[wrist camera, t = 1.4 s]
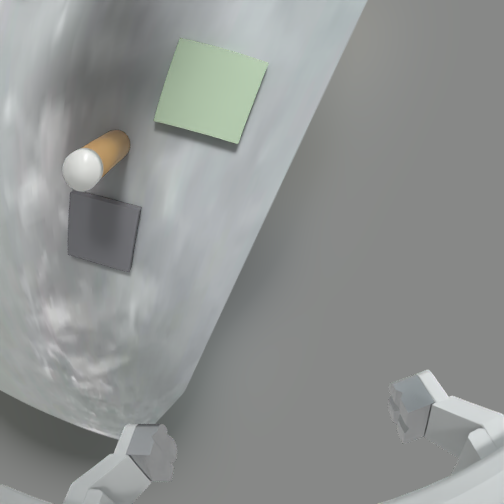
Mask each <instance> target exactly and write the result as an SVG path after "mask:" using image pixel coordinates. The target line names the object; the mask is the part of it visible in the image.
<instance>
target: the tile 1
mask: <svg viewBox="0 0 504 504" xmlns="http://www.w3.org/2000/svg"><path fill="white" fill-rule="evenodd" d="M140 212H141V207H139V206H135V205H132V204H128V203H124V202H120V201H117V200H113V199H109V198H105V197H101V196H98V195H94V194H90V193H86V192H80V191H76V190H73V191H72V192H71V193H70V206H69V224H68V255H71V256H74V257H78V258H81V259H84V260H88V261H91V262H95V263H98V264H101V265H105V266H108V267H112V268H115V269H119V270H122V271H126V272H129V271H130V269H131V265H132V258H133V252H134V246H135V240H136V234H137V228H138V223H139V217H140Z"/></svg>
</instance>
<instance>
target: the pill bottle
mask: <svg viewBox="0 0 504 504" xmlns="http://www.w3.org/2000/svg"><path fill="white" fill-rule="evenodd" d="M129 149H130V140H129V138H128V136H127V135H126V134H125V133H124V132H123V131H120V130H111V131H109V132H107V133H106V134H104V135H102V136H100V137H99V138H97V139H95V140H94V141H92V142H90V143H89V144H87V145H85V146H84V147H82V148H80V149H78V150H76V151H74V152H73V153H71V154H70V155H68V156H67V158H66V159H65V161H64V163H63V168H62V172H63V177H64V179H65V181H66V183H67V184H68V185H69V186H70V187H71V188H72V189H74V190H76V191H80V192H84V191H88V190H90V189H92V188H93V187H94V186H95V185H96V184H97V183H98V182H99V181H100V179H101V178H102V177H103V176H104V175H105V174H106V173H107V172H108V171H109V170H111V169H112V168H113V167H114V166H115V165H116V164H117V163H118V162H119V161H120V160H122V159H123V158H124V157H125V156H126V155H127V154H128V152H129Z"/></svg>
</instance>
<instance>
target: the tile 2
mask: <svg viewBox="0 0 504 504" xmlns="http://www.w3.org/2000/svg"><path fill="white" fill-rule="evenodd" d="M268 64H269V63H267V62H264V61H261V60H258V59H255V58H252V57H249V56H246V55H243V54H239V53H236V52H233V51H229V50H226V49H222V48H219V47H215V46H211V45H208V44H204V43H200V42H196V41H191V40H187V39H183V38H180V39H179V42H178V45H177V47H176V50H175V53H174V56H173V59H172V62H171V65H170V68H169V71H168V74H167V77H166V80H165V83H164V86H163V90H162V93H161V96H160V100H159V103H158V107H157V110H156V114H155V117H154V121H156V122H160V123H164V124H168V125H172V126H176V127H180V128H184V129H187V130H191V131H195V132H198V133H202V134H205V135H209V136H212V137H216V138H219V139H222V140H226V141H229V142H232V143H235V144H238V143H239V140H240V137H241V134H242V132H243V129H244V126H245V123H246V121H247V118H248V115H249V113H250V110H251V107H252V105H253V102H254V99H255V97H256V94H257V92H258V89H259V86H260V84H261V81H262V79H263V76H264V74H265V71H266V69H267V66H268Z"/></svg>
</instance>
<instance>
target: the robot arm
mask: <svg viewBox="0 0 504 504" xmlns="http://www.w3.org/2000/svg"><path fill="white" fill-rule="evenodd" d="M389 392H390V394H391V397H390V398H389V399H388V408H389V414H390V417H391V419H392V422H393V423H395V424H397V425H398V426H397V433H398V435H399V437H400V439H401V441H402V444H405V443H408V442H411V441H413V440H416V439H419V438H422V437H424V436H425V438H426V439H427V440H429V441H431V442H433V443H434V444H436V445H438V446H439V447H441V448H442V449H444V450H445V451H447V452H449V453H451V454H452V455H454V456H456V457H457V458H459V459H458V461H457V463H456V465H455V467H454V469H453V471H452V475H450V476H448V477H446V478H444V479H441V480H439V481H437V482H435V483H433V484H430V485H428V486H425V487H423V488H420V489H418V490H416V491H413V492H410V493H407V494H405V495H402V496H399V497H396V498H394V499H391V500H388V501H384V502H381V503H378V504H504V415H503V414H501V413H498V412H495V411H493V410H490V409H487V408H484V407H481V406H479V405H476V404H473V403H471V402H468V401H465V400H462V399H460V398H457V397H454V396H450V397H448V395H447V394H446V392H445V391H444V389H443V388H442V387H441V385H440V384H439V382H438V381H437V380H436V378H435V377H434V375H433V374H432V373H431V371H429V370H425V371H423V372H420V373H418V374H415V375H412V376H410V377H407V378H404V379H401V380H398V381H395V382H392V383H390V385H389ZM167 431H168V430H167V428H166V427H165V425H164V424H127V425H126V426H125V427H124V429H123V431H122V434H121V436H120V439H119V441H118V444H117V447H116V449H115V451H114V454H110V455H108V456H107V457H106V458H105V459H103V460H102V461H101V462H99V463H98V464H97V465H95V466H94V467H93V468H92V469H90V470H89V471H88V472H86V473H85V474H84V475H82V476H81V477H80V478H78V479H77V480H76V481H74V482H73V483H72V484H71V486H70V488H69V490H68V493H67V495H66V497H65V500H64V502H63V504H133V503H134V501H135V500H136V499H137V498H138V497H139V496H140V495H141V494H142V493H143V491H144V490H145V489H146V488H147V487H148V486H149V485H150V484H151V481H157V482H158V481H159V482H160V481H161V482H171V481H172V476H173V472H174V467H173V466H172V463H173V462H174V461H175V460H176V457H177V446H176V443H175V441H174V439H173V437H171V436H169V435H168V434H167ZM0 504H53V503H50V502H47V501H44V500H41V499H39V498H36V497H33V496H30V495H28V494H25V493H23V492H20V491H18V490H15V489H13V488H11V487H8V486H6V485H2V484H0Z"/></svg>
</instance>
